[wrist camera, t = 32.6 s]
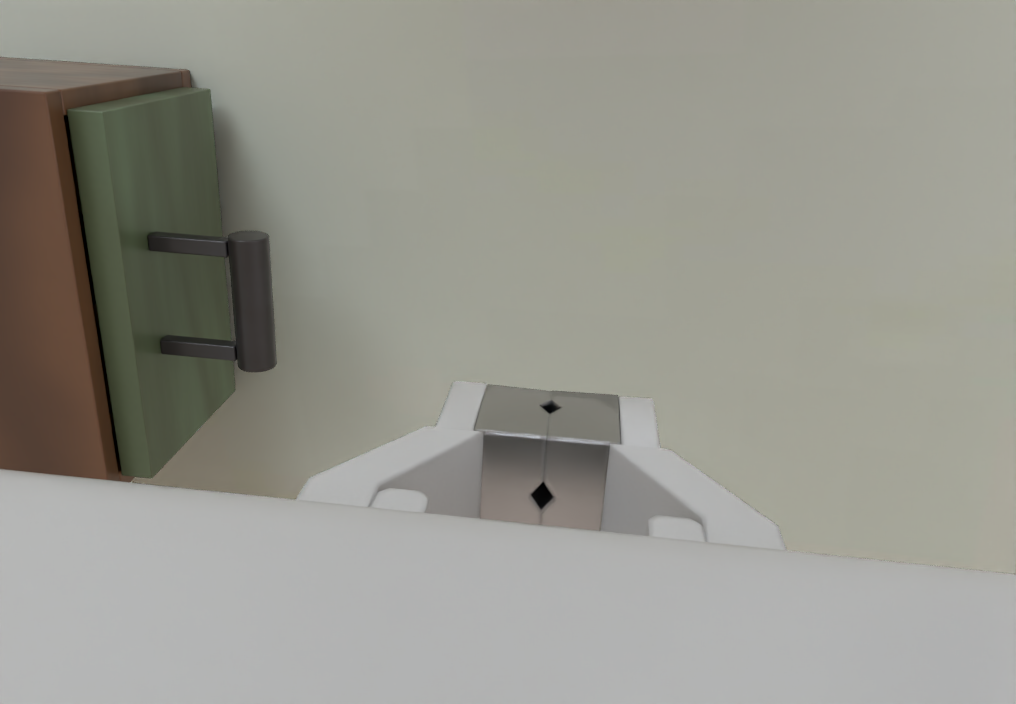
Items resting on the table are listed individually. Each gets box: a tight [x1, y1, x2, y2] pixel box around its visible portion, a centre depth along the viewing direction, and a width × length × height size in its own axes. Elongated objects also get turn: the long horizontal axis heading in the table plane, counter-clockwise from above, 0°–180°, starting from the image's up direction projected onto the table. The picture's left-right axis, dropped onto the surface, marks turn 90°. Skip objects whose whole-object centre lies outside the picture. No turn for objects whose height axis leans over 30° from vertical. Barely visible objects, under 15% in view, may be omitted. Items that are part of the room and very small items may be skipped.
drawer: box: [64, 87, 277, 478], centre depth 32 cm, size 19×13×8 cm
